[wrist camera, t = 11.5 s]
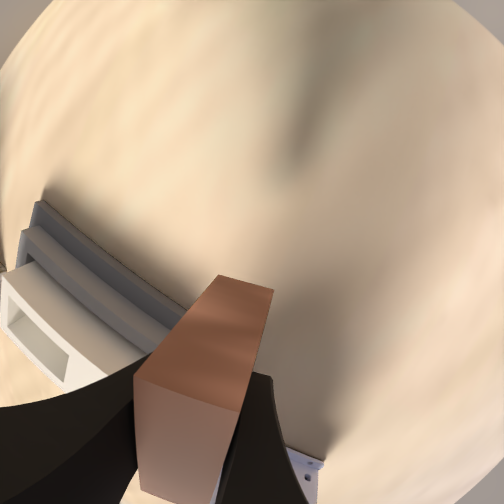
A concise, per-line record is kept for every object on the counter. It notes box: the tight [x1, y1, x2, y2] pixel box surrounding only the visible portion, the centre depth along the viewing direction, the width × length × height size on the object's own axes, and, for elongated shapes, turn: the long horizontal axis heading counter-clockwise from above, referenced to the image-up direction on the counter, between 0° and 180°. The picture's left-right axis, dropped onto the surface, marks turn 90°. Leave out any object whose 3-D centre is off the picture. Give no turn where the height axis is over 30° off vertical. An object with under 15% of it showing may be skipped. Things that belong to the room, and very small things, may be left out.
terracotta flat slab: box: [133, 275, 274, 504], centre depth 8 cm, size 2×5×6 cm, turn 168°
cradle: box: [15, 200, 187, 354], centre depth 20 cm, size 20×12×3 cm, turn 59°
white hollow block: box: [0, 261, 148, 393], centre depth 18 cm, size 6×14×5 cm, turn 58°
